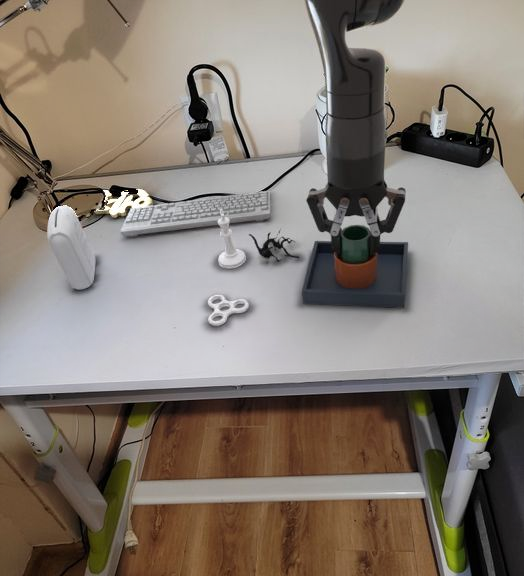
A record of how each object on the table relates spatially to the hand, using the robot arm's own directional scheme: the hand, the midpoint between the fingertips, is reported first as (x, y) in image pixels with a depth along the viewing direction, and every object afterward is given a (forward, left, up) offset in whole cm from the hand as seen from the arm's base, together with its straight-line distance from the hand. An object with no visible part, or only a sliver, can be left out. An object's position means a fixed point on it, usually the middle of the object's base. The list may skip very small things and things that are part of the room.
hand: (355, 252), depth 77 cm
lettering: (+57, -22, -5) cm, 61 cm away
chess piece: (+22, -4, -5) cm, 23 cm away
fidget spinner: (+19, +9, -5) cm, 22 cm away
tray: (0, 0, -5) cm, 5 cm away
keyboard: (+33, -18, -5) cm, 38 cm away
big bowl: (0, 0, -5) cm, 5 cm away
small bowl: (0, 0, 0) cm, 0 cm away
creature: (+14, -6, -5) cm, 16 cm away
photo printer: (+49, +1, -5) cm, 49 cm away
